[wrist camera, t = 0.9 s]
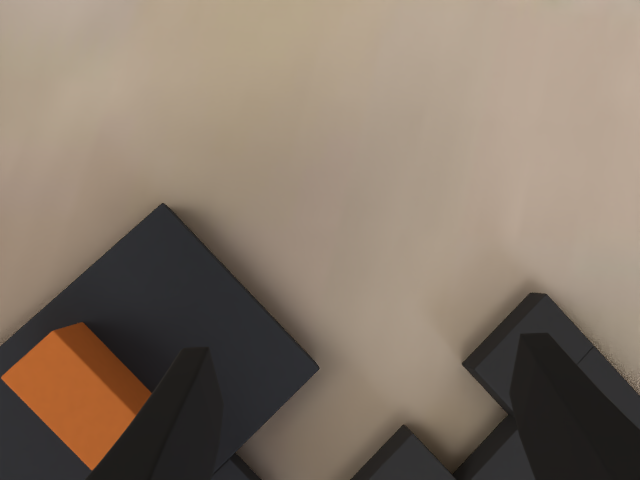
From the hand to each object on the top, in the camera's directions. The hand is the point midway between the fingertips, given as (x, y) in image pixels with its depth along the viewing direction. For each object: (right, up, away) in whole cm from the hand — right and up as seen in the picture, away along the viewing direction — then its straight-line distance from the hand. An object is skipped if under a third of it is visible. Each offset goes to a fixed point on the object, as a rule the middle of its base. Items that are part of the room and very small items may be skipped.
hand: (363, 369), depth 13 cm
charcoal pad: (-9, -5, +12) cm, 15 cm away
